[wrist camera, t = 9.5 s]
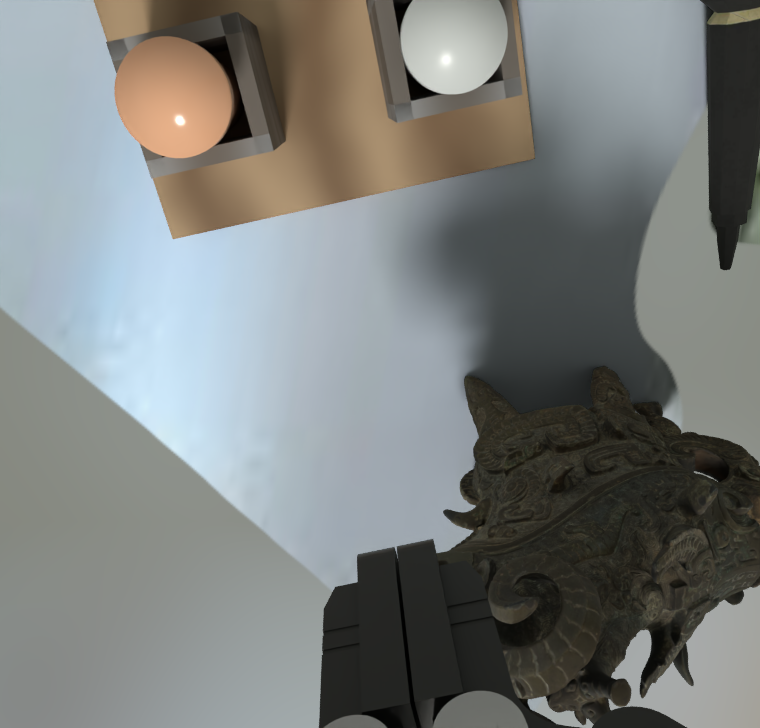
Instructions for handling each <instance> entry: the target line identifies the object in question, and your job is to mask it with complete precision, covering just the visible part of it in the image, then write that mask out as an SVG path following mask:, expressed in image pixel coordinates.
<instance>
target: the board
mask: <svg viewBox="0 0 760 728" xmlns="http://www.w3.org/2000/svg"><path fill="white" fill-rule="evenodd" d="M412 1H413V0H94V3H95V6H96V9H97V12H98V15H99V18H100V21H101V24H102V27H103V30H104V33H105V36H106V39H107V42H106V43H107V46H108V49H109V52H110V55H111V58H112V61H113V64H114V67H115V70H116V73H117V72H118V69H119V67H120V64H121V63H122V61H123V59H124V58H125V56H126V55H127V54H128V52H130V51H131V50H132V49H133V48H134V47H135V46H137V45H138V44H139V43H141V42H143V41H145V40H148V39H151V38H154V37H161V36H171V37H178V38H181V39H185V40H188V41H191V42H193V43H195V44H198V45H199V46H201V47H203V48H204V49H206V50H207V51H208V52H210V53H211V54H212V55H213V56H214V57H215V58H216V59H217V60H218V62H220V63H222V64H224V65H226V66H227V67H229V68H230V69H231V70H232V71H233V72H234V73H235V74H236V77H237V81H238V85H239V89H240V92H241V96H242V100H243V103H244V111H243V114H242V116H241V118H240V120H239V121H238V123H237V124H236V125H235V126H234V127H233V128H231V129H230V130H228V131H227V132H226V134H225V135H224V137H223V138H222V139H221V140H220V141H219V142H218V143H217V144H216V145H215V146H214V147H212V148H211V149H209V150H207V151H205V152H203V153H201V154H199V155H196V156H192V157H188V158H170V157H165V156H162V155H159V154H156V153H154V152H152V151H150V150H148V149H147V148H145V147H144V146H143V145H141V144H140V145H141V148H142V151H143V154H144V157H145V160H146V163H147V166H148V169H149V172H150V175H151V178H153V181H154V184H155V187H156V190H157V193H158V196H159V199H160V202H161V205H162V208H163V211H164V214H165V217H166V220H167V223H168V226H169V229H170V232H171V235H172V238H173V239H176V238H181V237H185V236H190V235H194V234H199V233H203V232H207V231H212V230H216V229H221V228H225V227H230V226H234V225H239V224H243V223H248V222H252V221H257V220H261V219H266V218H270V217H275V216H279V215H284V214H288V213H293V212H297V211H302V210H306V209H311V208H315V207H320V206H324V205H329V204H333V203H338V202H342V201H347V200H351V199H356V198H360V197H365V196H369V195H374V194H378V193H383V192H387V191H392V190H396V189H401V188H405V187H410V186H414V185H419V184H423V183H428V182H432V181H437V180H441V179H446V178H450V177H455V176H459V175H464V174H468V173H473V172H477V171H482V170H486V169H491V168H495V167H500V166H504V165H509V164H513V163H518V162H522V161H527V160H531V159H535V153H534V144H533V136H532V127H531V118H530V110H529V101H528V92H527V84H526V75H525V66H524V58H523V49H522V40H521V32H520V23H519V14H518V6H517V0H499V2H500V3H501V5H502V8H503V10H504V13H505V16H506V21H507V29H508V37H507V45H506V50H505V53H504V56H503V58H502V61H501V63H500V65H499V66H498V68H497V70H496V71H495V72H494V74H493V75H492V76H491V77H490V78H489V79H488V80H487V81H486V82H485V83H483V84H482V85H481V86H479V87H478V88H476V89H474V90H471V91H469V92H466V93H462V94H440V93H437V92H433V91H431V90H429V89H427V88H425V87H424V86H422V85H421V84H420V83H418V82H417V81H416V80H415V79H414V78H412V77H411V76H410V75H409V74H408V73H407V72H406V70H405V66H404V61H403V58H402V54H401V49H400V29H401V24H402V20H403V17H404V15H405V12H406V10H407V8H408V6H409V5H410V3H411V2H412Z"/></svg>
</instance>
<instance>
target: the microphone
mask: <svg viewBox="0 0 760 728" xmlns="http://www.w3.org/2000/svg"><path fill="white" fill-rule="evenodd" d="M700 1H702V2H703V3H704V4H705V5H707V6H708V7H709V8H711V9H712V10H713V11H714V13H713V15H712V16H711V17H710V19H709V20H708V22H707V82H708V150H709V151H708V155H709V209H710V211H711V213H712V222H713V224H714V225H715V226H716V227H717V243H718V252H719V261H720V268H721V269H723V270H729V269H730V268H731V265H732V262H733V257H734V253H735V249H736V245H737V241H738V237H739V229H740V225H742V224H745V223H747V211H748V210H749V209H751V203H752V197H753V190H754V183H755V177H756V170H757V163H758V156H759V150H760V0H700Z"/></svg>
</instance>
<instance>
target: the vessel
mask: <svg viewBox="0 0 760 728" xmlns="http://www.w3.org/2000/svg"><path fill="white" fill-rule="evenodd" d="M464 386H465V391H466V397H467V401H468V407H469V410H470V413H471V415H472V417H473V421H474V423H475V425H476V428H477V432H478V435H479V439H478V440H477V442H476V444H475V446H474V449H473V453H474V458H475V461H476V463H475V468H474V469H473V470H471V471H469V472H468V473H467V474H465V475H464V477H463V478H462V479H461V481H460V492H461V495H462V496H463V498H464V500H467V501H468V502H469V503H470V504H472V505H476V507H475V508H474V509H473V510H471V511H469V512H465V513H462V512H455V511H452V510H448V509H447V510H444V511H443V513H444V515H445V516H446V517H447V518H448V519H449V520H450V521H451V522H452V523H454V524H455V525H457V526H460V527H463V528H466V529H469V530H473V531H474V532H473V533H472V534H471V535H470V536H468V537H467V538H466V539H465V540H463V541H461V543H459V544H457V545H456V546H455V547H453V548H451V550H449V551H447V552H441V553H436V554H437V559H438V563H439V566H440V565H445V564H450V563H455V562H460V561H465V560H466V561H467V562H468V563H469V564H470V565H471V566H472V567H473V568H474V569H475V570H476V571H477V572H478V573H479V574H480V575H481V576H482V579H483V583H484V586H485V590H486V593H487V597H488V601H489V604H490V607H491V611H492V614H493V619H494V621H495V625H496V628H497V632H498V635H499V639H500V643H501V646H502V650H503V653H504V657H505V660H506V664H507V667H508V671H509V674H510V678H511V681H512V685H513V688H514V690H515V693H516V695H517V697H518V698H519V700H520V701H521V702H522V704H523V705H524V706H525V707H526V708H527V709H528V710H529V711H530V712H532V713H533V714H535V715H536V716H538V717H539V718H542V719H544V720H546V721H548V722H551V723H554V722H553V721H551V720H550V719H548V718H546V717H545V716H543V715H541V714H539V713H537V712H535V711H532V710H531V709H530V708H529V705H528V703H527V702H528V699H533V698H538V697H543V696H546V698H547V701H548V705H549V707H550V708H551V709H552V710H553V711H555V712H563V711H566V710H567V711H568V710H570V711H574V713H575V717H576V718H577V719H578V721H579V722H580V723H581V724H582V725H585V724H586V718H587V719H589V720H590V721H591V722H592V723H593V724H595V722H596V721H597V720H598V719H599V718H600V717H601V716H603V715H604V714H606V713H607V712H610V711H611V710H610V707H609V701H608V699H611V701H612V702H613V703H614V704H615V705H616V706H619V707H622V706H626V705H627V704H628V702H629V701H630V698H631V688H630V686H629V684H628V682H627V681H626V680H625V679H617V680H616V679H613V678H611V675H612V673H613V672H614V671H615V668H616V667H617V666H618V665H619V664H620V663H621V661H623V660H624V659H625V655H626V649H627V647H628V646H629V644H630V641H631V640H632V639H633V638H634V637H636V634H637V633H638V632H639V631H640V630H645V629H646V630H649V632H650V635H651V640H652V645H651V653H650V657H649V659H648V661H647V664H646V666H645V668H644V670H643V672H642V675H641V683H640V695H641V697H642V698H644V697H645V695H646V693H647V691H648V689H649V687H650V685H651V684H652V683H656V681H657V679H658V678H659V677H660V676H661V675H663V673H664V672H665V671H666V669H667V668H668V667H669V666H670V664H671V663H672V662H673V663H674V665H675V667H676V668H677V670H678V671H679V673H680V674H681V676H682V677H683V678H684V679H685V680H686V682H687V683H688V684H689V685H691V686H693V685H694V684H693V679H692V677H691V675H690V672H689V669H688V652H687V646H686V642H687V640H688V639H689V638H690V637H691V636H692V634H693V632H694V630H695V629H696V628H697V626H698V625H699V624H700V623H701V622H702V620H703V619H704V616H705V614H706V613H708V612H710V611H711V610H713V609H714V608H715V607H717V605H718V604H719V602H721V601H723V600H724V599H725V600H726V601H727V602H728V603H730V604H732V605H736V604H739V603H740V602H741V601H742V599H743V597H744V592H743V590H744V589H747V588H749V587H753V588H754V587H757V586H758V585H760V466H759V463H758V461H757V460H756V459H755V458H754V457H753V456H751V455H750V454H749V453H748V452H747V451H746V450H745V449H744V448H743V447H742V446H740V445H737V444H735V443H732V442H731V441H728V440H724V439H720V438H716V437H709V436H705V435H698V434H697V433H694V432H685V433H682V434H681V430H680V428H679V427H678V426H677V425H676V424H675V423H674V422H672V421H671V420H669V419H667V418H664V417H662V416H663V412H662V408H661V405H660V404H659V403H658V402H650V403H637V404H634V405H632V403H631V401H630V396H629V393H628V390H626V388H625V387H624V386H623V384H622V383H621V382H620V381H619V377H618V375H617V374H616V373H615V372H614V371H612V370H610V369H608V368H607V367H606V366H602V367H598V368H595V369H594V370H593V374H592V383H591V387H590V391H591V398H592V402H593V407H591V408H589V409H586V408H585V407H584V406H582V405H567V406H560V407H554V408H546V409H540V410H535V411H532V412H527V413H523V414H519V413H518V411H517V410H516V409H515V408H513V407H512V405H511V404H510V403H509V402H508V401H507V400H506V399H504V398H503V397H502V396H501V395H500V394H499V393H498V392H496V391H495V390H494V389H493V388H492V387H491V386H490V385H488V384H487V383H485V382H483V381H481V380H480V379H478V378H475V377H473V376H466V377H465V379H464ZM634 409H635V410H636V411H637V412H638V413H639V414H638V413H636V412H635V410H634ZM694 471H697V472H700V473H703V474H705V475H708V476H711V477H713V478H714V479H715V480H717V481H718V482H717V481H715V480H713V479H711V478H708V477H707V476H704V475H701V474H696V473H694ZM554 724H556V723H554Z"/></svg>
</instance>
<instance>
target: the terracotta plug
mask: <svg viewBox="0 0 760 728" xmlns="http://www.w3.org/2000/svg"><path fill="white" fill-rule="evenodd" d="M115 100H116V106H117V109H118V113H119V115H120V117H121V120H122V122H123V123H124V125H125V127H126V128H127V130H128V131H129V133H130V134H131V135H132V136H133V137H134V138H135V139H136V140H137V141H138V142H139V143H140V144H141V145H143V146H144V147H145V148H147V149H148V150H150V151H152V152H154V153H156V154H159V155H162V156H165V157H170V158H188V157H192V156H196V155H199V154H201V153H203V152H205V151H207V150H209V149H211V148H212V147H214V146H215V145H216V144H217V143H218V142H219V141H220V140H221V139H222V138H223V137H224V135H225V134H226V132H227V131H228V130H230V129H231V128H233V127H234V126H235V125H236V124H237V123H238V121H239V120H240V118H241V116H242V114H243V111H244V103H243V100H242V96H241V92H240V89H239V85H238V81H237V77H236V74H235V73H234V72H233V71H232V70H231V69H230V68H229V67H227V66H226V65H224V64H222V63H220V62H218V60H217V59H216V58H215V57H214V56H213V55H212V54H211V53H210V52H208V51H207V50H206V49H204V48H203V47H201V46H199V45H198V44H195V43H193V42H191V41H188V40H185V39H181V38H178V37H171V36H161V37H154V38H151V39H148V40H145V41H143V42H141V43H139V44H138V45H137V46H135V47H134V48H133V49H132V50H131V51H130V52H128V54H127V55H126V56H125V58H124V59H123V61H122V63H121V64H120V67H119V69H118V72H117V76H116V80H115Z"/></svg>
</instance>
